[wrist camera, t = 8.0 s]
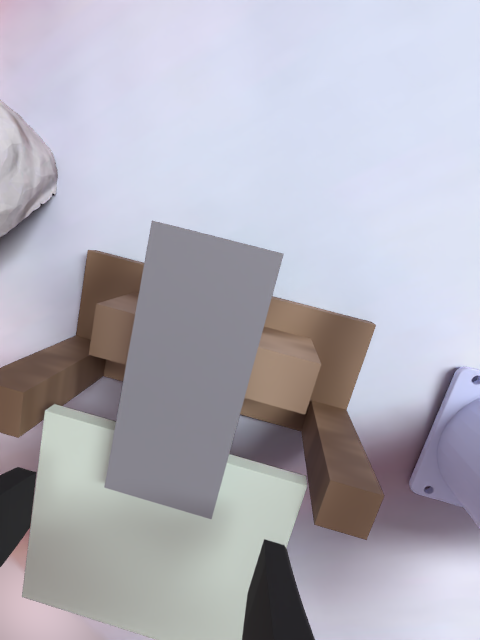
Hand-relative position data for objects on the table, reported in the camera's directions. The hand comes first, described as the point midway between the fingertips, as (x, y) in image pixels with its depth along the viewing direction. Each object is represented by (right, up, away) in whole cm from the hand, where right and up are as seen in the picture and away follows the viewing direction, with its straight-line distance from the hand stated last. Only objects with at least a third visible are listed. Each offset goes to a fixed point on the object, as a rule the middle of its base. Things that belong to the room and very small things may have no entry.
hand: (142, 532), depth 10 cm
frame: (+2, +5, +9) cm, 11 cm away
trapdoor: (0, +1, +5) cm, 5 cm away
